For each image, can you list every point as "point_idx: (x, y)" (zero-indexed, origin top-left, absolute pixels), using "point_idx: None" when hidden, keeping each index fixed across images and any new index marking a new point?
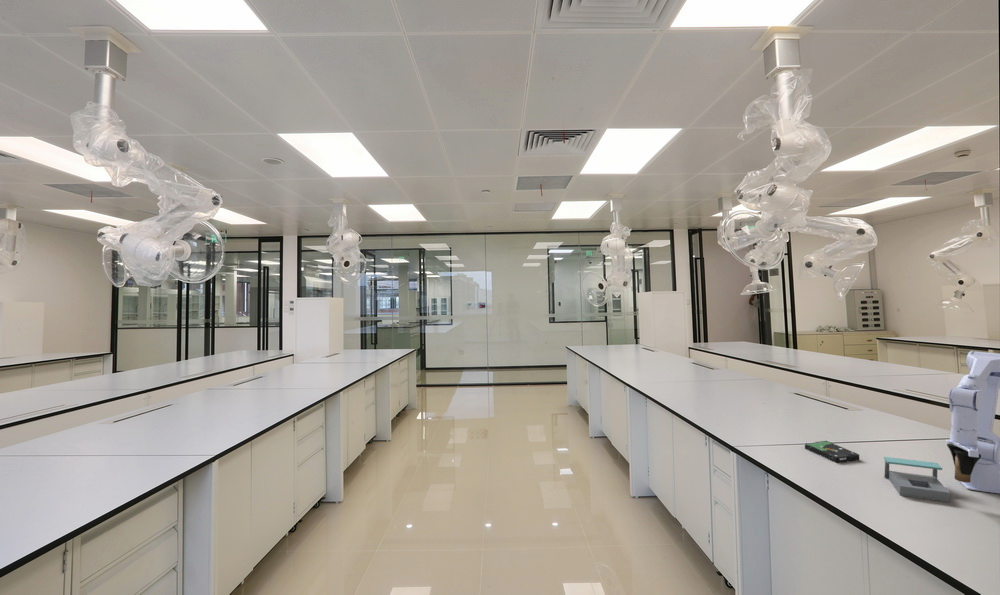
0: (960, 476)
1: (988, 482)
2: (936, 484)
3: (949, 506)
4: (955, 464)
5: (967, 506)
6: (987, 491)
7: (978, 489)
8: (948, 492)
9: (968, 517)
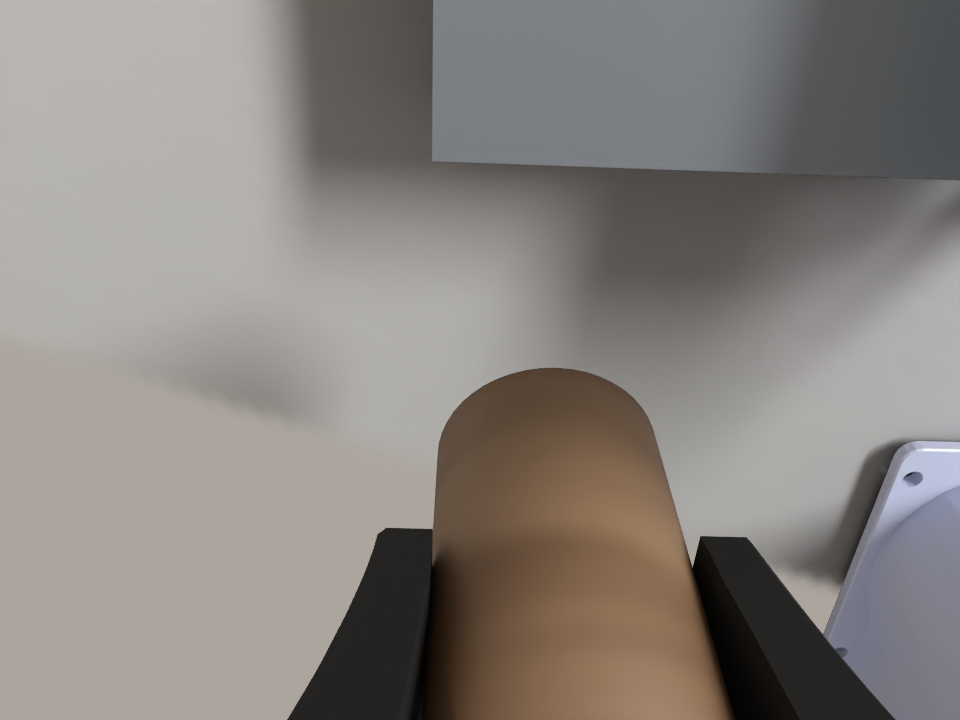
0: (455, 471)
1: (907, 663)
2: (751, 80)
3: (283, 56)
4: (586, 611)
5: (387, 272)
6: (849, 573)
7: (877, 526)
8: (432, 145)
9: (18, 162)
